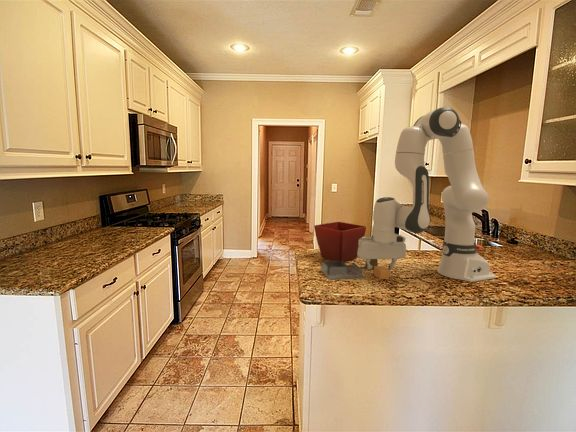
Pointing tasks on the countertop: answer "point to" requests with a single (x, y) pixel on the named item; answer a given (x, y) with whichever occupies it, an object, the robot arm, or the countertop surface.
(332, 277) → the grey tray with frame
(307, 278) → the countertop surface
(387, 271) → the bracket block
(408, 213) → the robot arm
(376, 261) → the cork
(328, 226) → the plant pot
